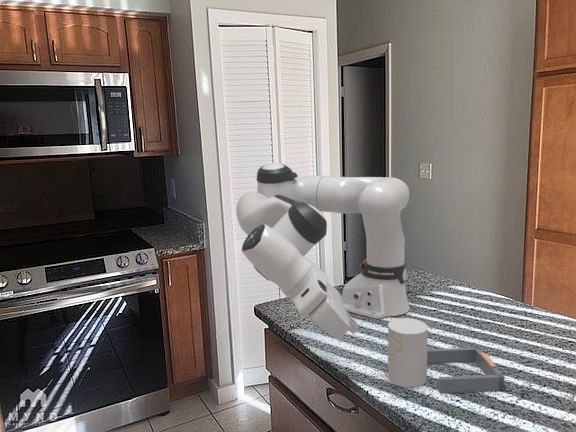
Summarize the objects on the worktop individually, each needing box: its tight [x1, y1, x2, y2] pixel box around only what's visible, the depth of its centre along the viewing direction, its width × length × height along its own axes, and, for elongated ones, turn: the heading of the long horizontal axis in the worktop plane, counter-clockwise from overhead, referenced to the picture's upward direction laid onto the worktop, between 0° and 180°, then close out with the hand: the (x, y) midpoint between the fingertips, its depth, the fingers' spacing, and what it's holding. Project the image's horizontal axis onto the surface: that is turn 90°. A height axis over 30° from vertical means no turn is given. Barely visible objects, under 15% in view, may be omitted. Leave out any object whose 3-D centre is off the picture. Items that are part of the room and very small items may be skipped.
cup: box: [387, 317, 429, 389], centre depth 98 cm, size 8×8×12 cm
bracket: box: [427, 347, 506, 394], centre depth 99 cm, size 13×13×4 cm
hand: (355, 328), depth 97 cm, fingers closed
